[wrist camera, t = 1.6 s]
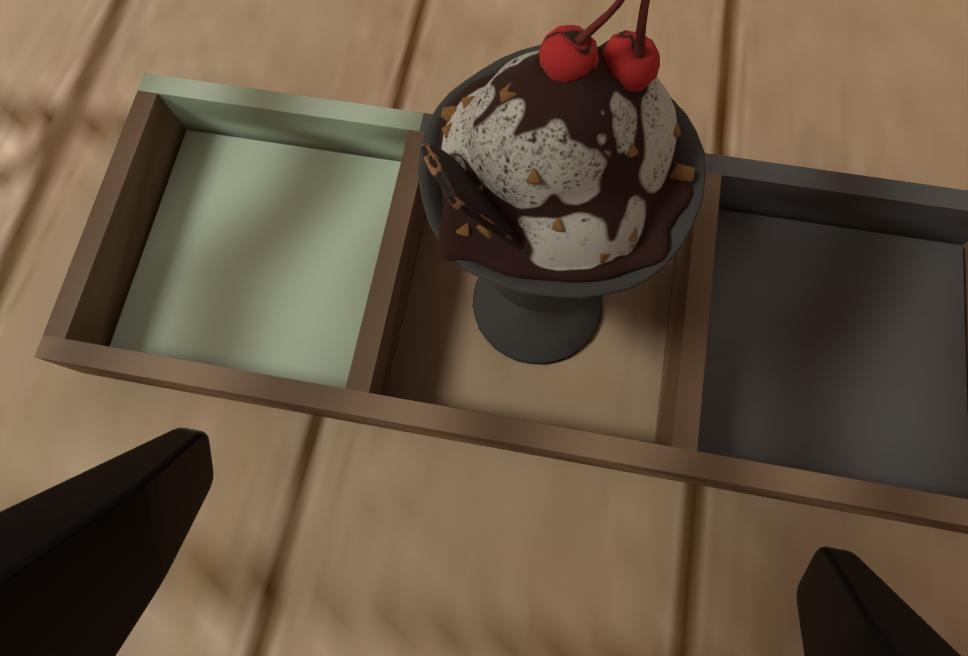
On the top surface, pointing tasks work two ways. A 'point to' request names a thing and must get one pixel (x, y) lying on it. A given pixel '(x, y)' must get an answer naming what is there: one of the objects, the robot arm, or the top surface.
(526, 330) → the sundae
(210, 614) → the top surface
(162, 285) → the tray
